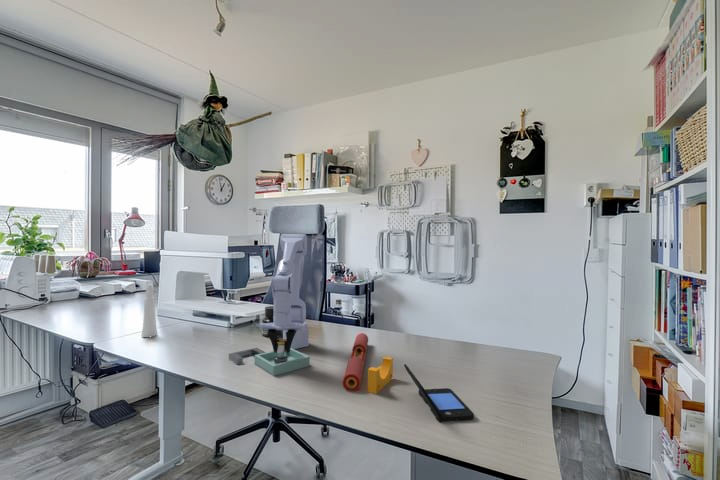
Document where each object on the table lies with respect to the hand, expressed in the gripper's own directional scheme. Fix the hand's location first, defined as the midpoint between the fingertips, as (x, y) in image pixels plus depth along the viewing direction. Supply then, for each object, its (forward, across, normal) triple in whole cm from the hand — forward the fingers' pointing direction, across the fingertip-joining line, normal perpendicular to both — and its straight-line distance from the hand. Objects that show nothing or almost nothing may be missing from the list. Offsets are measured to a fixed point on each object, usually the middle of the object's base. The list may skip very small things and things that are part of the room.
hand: (282, 351), depth 115 cm
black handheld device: (+5, +47, -25) cm, 54 cm away
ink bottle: (+5, -14, +35) cm, 38 cm away
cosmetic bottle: (+5, -66, +29) cm, 72 cm away
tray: (+4, 0, 0) cm, 4 cm away
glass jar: (+3, 0, 0) cm, 3 cm away
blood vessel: (+5, +25, +3) cm, 26 cm away
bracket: (+4, -13, +5) cm, 15 cm away
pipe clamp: (+5, +32, -13) cm, 35 cm away
